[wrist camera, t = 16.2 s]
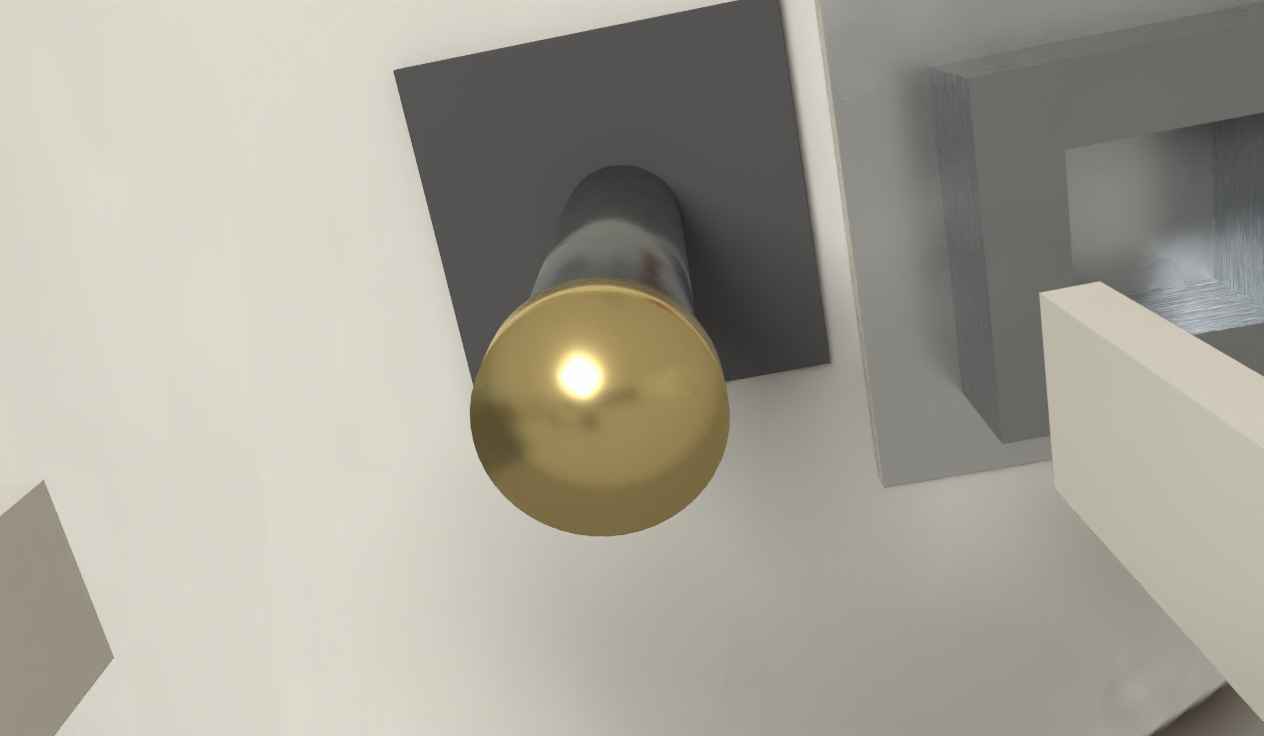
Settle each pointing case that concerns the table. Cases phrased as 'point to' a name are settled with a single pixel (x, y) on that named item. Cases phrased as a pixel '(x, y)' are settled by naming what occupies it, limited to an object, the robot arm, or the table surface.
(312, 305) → the table surface
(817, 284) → the mat
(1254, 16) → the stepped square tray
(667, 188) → the gold capped cylinder
